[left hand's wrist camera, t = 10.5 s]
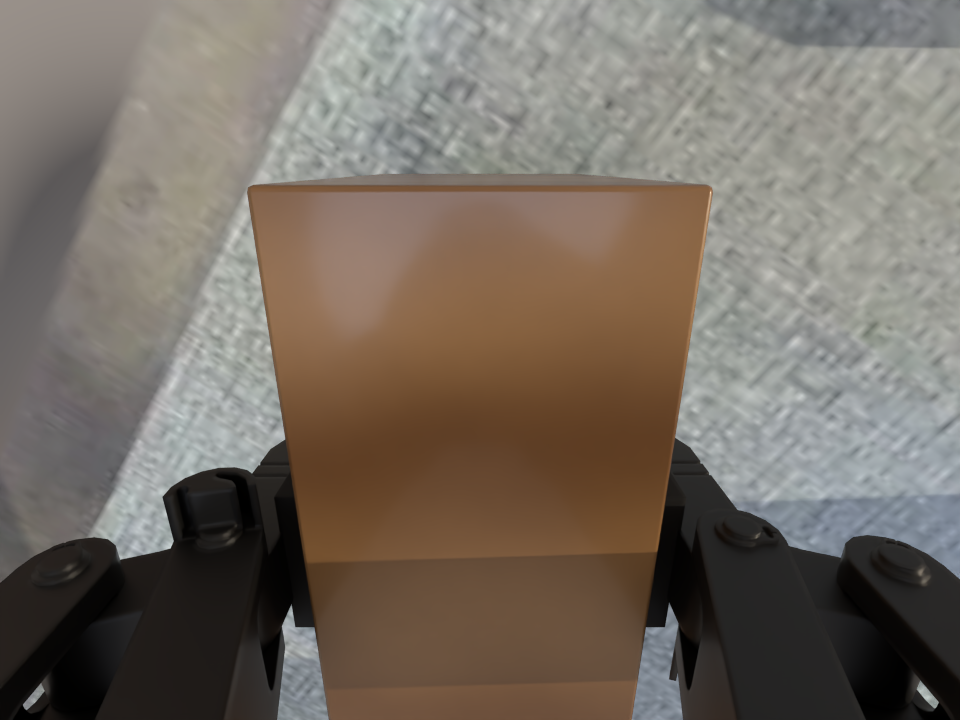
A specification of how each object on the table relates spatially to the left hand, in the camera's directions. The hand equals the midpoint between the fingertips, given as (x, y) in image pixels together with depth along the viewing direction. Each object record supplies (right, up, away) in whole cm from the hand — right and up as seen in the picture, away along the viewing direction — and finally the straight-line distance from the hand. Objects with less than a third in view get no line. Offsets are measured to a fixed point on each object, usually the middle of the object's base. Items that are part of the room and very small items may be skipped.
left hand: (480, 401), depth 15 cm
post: (0, -27, +11) cm, 29 cm away
